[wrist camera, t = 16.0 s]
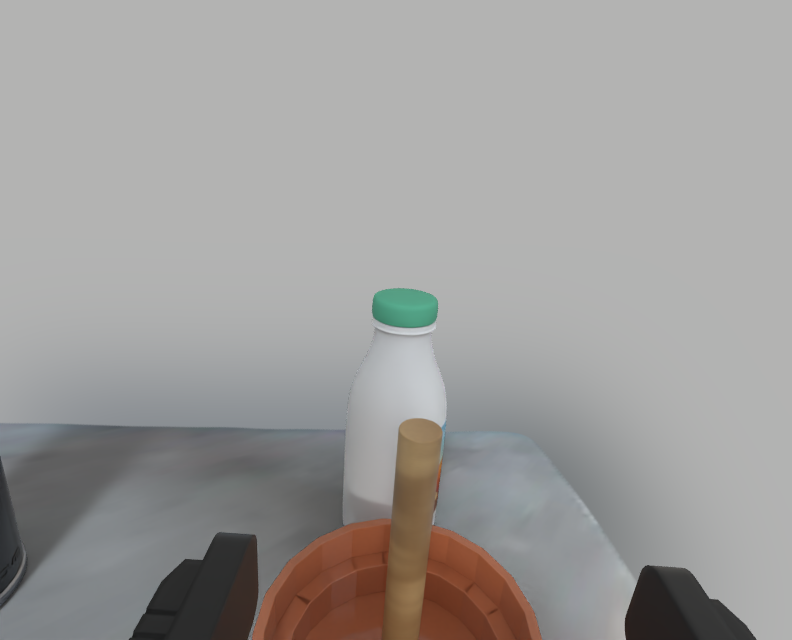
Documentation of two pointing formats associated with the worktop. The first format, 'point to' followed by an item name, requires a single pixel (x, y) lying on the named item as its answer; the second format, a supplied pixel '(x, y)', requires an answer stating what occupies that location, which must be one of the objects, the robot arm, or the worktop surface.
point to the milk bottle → (390, 400)
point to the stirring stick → (411, 526)
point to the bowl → (366, 584)
